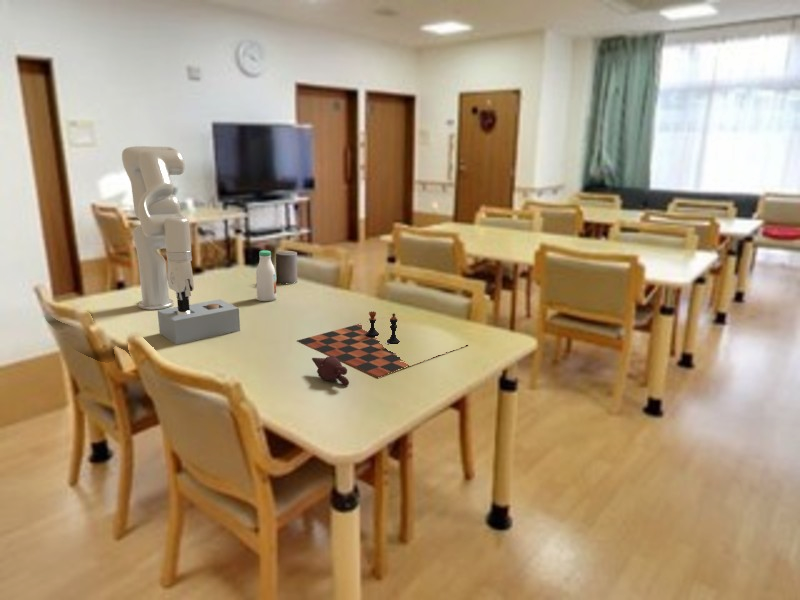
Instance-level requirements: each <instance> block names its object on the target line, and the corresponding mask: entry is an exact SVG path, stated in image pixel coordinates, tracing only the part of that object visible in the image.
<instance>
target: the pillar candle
mask: <svg viewBox="0 0 800 600" xmlns="http://www.w3.org/2000/svg"><path fill="white" fill-rule="evenodd" d="M275 275H276V284H279V283H281V285H287V284H286V283H294V282H296V283H298V252H297V251H293V250H279V251H276V252H275ZM294 284H295V283H294Z"/></svg>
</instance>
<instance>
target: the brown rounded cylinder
mask: <svg viewBox="0 0 800 600" xmlns="http://www.w3.org/2000/svg"><path fill="white" fill-rule="evenodd" d="M217 308H219V304H209V305H207V309H208V310H211V309H217Z"/></svg>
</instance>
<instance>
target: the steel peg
mask: <svg viewBox="0 0 800 600" xmlns="http://www.w3.org/2000/svg"><path fill="white" fill-rule="evenodd" d="M177 313H178V315H179V316H180V315H185V314H190V313H191V312H190V310H189V311H184V312H180V311H177Z"/></svg>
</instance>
